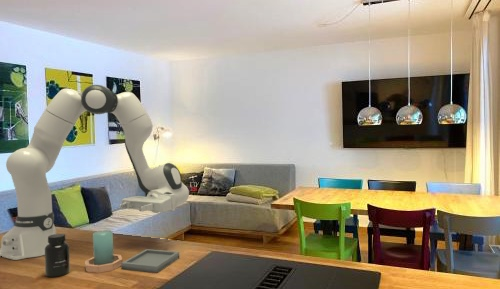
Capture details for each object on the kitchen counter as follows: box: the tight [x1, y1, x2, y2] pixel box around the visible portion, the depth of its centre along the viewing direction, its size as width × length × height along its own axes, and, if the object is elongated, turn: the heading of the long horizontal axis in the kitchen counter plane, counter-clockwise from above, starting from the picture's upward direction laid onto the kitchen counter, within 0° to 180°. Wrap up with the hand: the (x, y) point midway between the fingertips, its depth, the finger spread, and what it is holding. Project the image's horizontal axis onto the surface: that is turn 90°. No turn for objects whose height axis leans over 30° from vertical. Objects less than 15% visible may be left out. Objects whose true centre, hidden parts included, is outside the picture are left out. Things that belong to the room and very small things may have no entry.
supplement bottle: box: [44, 233, 71, 278], centre depth 116 cm, size 7×7×12 cm
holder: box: [84, 253, 124, 274], centre depth 122 cm, size 11×11×2 cm
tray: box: [120, 248, 180, 274], centre depth 123 cm, size 13×14×2 cm
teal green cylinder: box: [92, 229, 115, 265], centre depth 121 cm, size 6×6×11 cm
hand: (130, 208), depth 132 cm, fingers open, 8 cm apart
